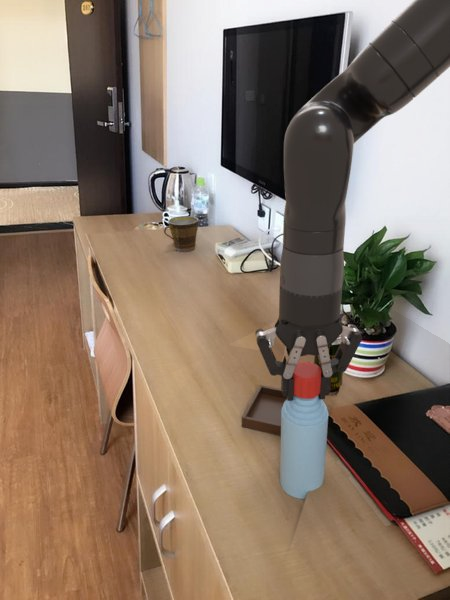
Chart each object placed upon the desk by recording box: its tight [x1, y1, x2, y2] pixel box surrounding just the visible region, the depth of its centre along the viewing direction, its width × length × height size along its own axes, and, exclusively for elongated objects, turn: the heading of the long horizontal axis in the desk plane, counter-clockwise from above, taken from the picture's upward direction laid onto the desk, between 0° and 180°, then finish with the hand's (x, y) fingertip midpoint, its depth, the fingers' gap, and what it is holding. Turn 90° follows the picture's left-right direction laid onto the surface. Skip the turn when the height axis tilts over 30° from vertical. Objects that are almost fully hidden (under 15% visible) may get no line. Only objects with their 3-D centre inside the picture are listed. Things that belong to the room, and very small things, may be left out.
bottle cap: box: [292, 361, 322, 399], centre depth 67 cm, size 4×4×3 cm
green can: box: [313, 335, 344, 396], centre depth 93 cm, size 5×5×12 cm
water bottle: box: [279, 394, 329, 500], centre depth 71 cm, size 6×6×19 cm
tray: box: [241, 384, 287, 437], centre depth 88 cm, size 11×10×2 cm
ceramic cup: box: [163, 215, 199, 253], centre depth 167 cm, size 13×10×10 cm
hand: (304, 396), depth 68 cm, fingers closed on bottle cap, 3 cm apart
